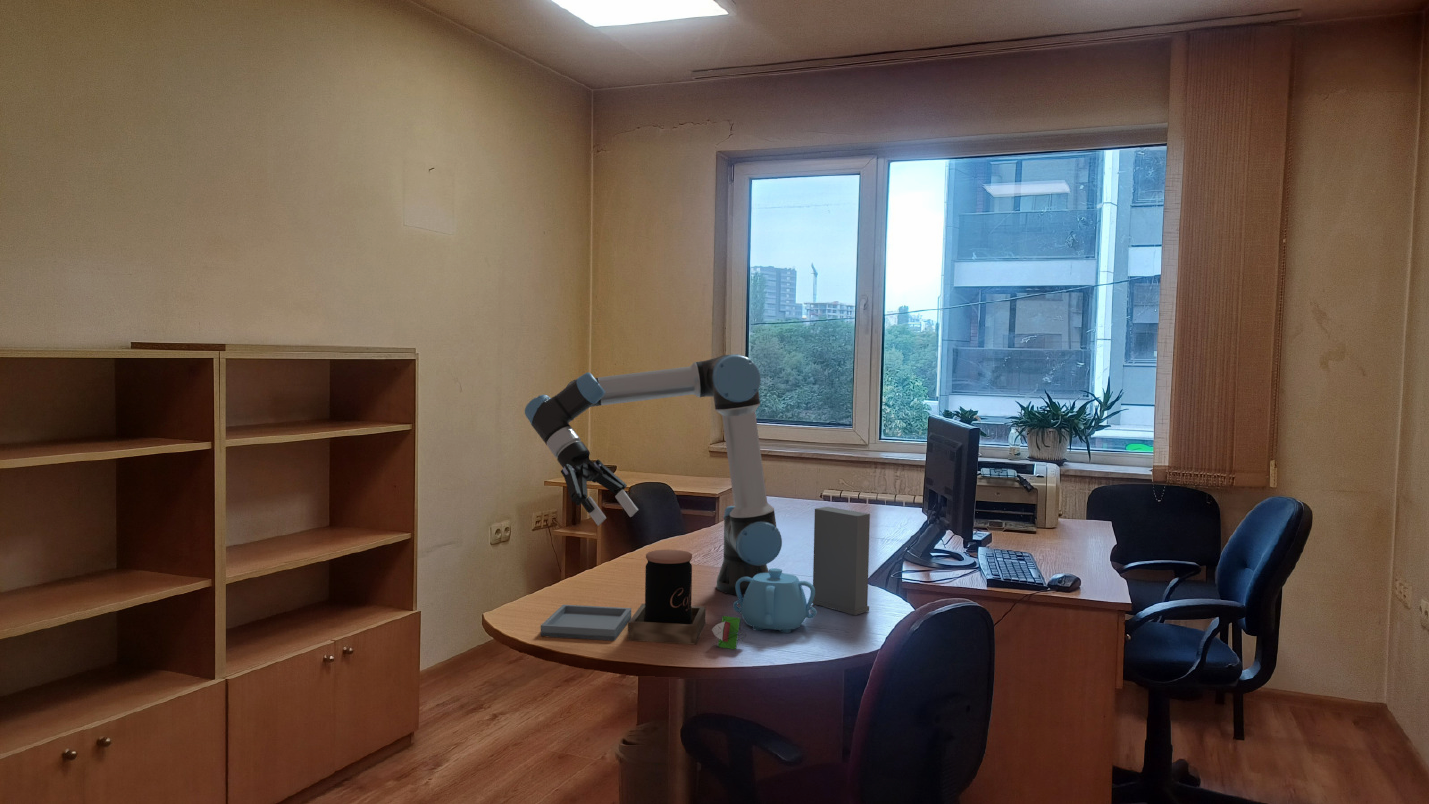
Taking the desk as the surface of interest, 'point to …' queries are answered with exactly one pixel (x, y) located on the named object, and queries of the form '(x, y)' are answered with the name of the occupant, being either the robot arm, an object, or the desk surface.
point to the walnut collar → (666, 628)
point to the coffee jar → (668, 587)
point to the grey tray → (586, 622)
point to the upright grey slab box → (841, 559)
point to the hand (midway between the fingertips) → (618, 517)
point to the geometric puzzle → (727, 632)
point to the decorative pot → (774, 601)
